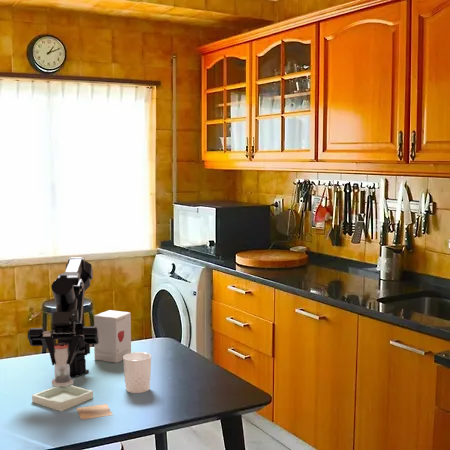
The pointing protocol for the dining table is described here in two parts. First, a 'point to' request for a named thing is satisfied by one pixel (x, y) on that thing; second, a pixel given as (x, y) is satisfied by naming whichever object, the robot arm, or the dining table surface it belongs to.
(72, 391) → the tray
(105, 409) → the keeper plate
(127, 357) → the white cup
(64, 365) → the clear shaker bottle
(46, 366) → the dining table surface
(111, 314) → the supplement box
